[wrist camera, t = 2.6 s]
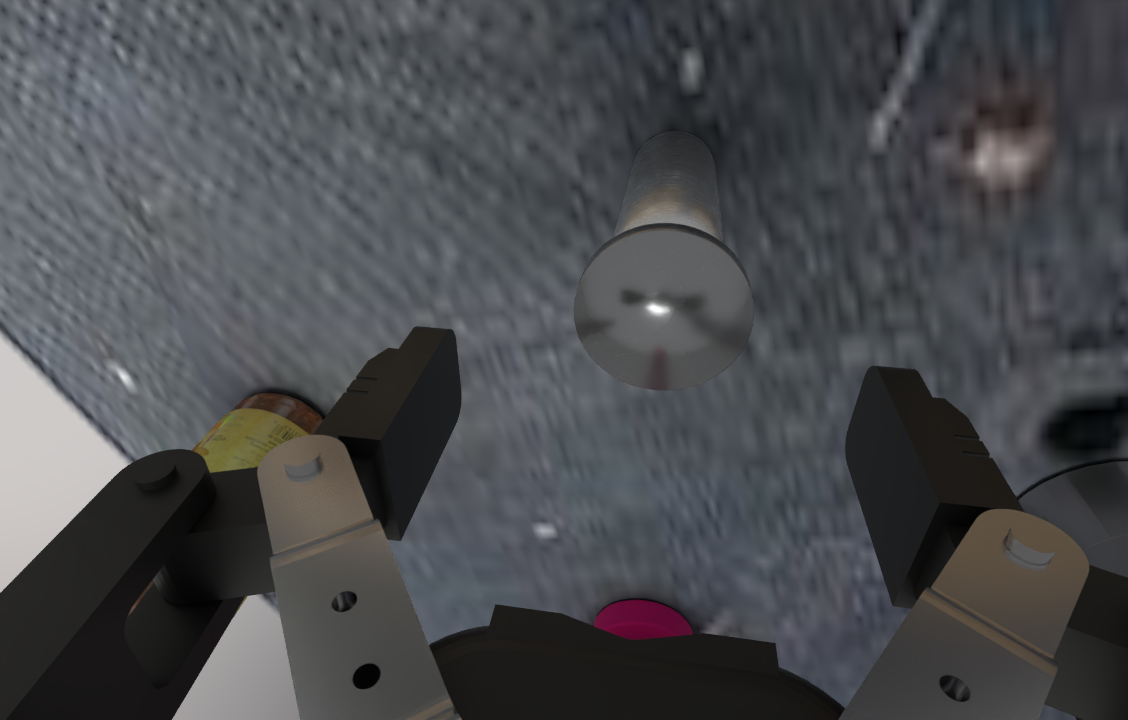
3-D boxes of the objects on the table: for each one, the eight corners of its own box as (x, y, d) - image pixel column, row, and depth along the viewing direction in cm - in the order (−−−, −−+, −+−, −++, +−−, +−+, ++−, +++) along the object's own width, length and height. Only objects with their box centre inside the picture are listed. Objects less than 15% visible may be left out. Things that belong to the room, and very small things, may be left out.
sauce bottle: (228, 376, 35) (-188, 759, 18) (338, 398, 34) (10, 811, 18) (248, 465, 38) (-86, 851, 22) (347, 486, 38) (82, 897, 21)
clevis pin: (736, 119, 24) (769, 239, 14) (720, 227, 26) (738, 398, 16) (623, 113, 24) (575, 226, 14) (617, 220, 26) (572, 381, 16)
